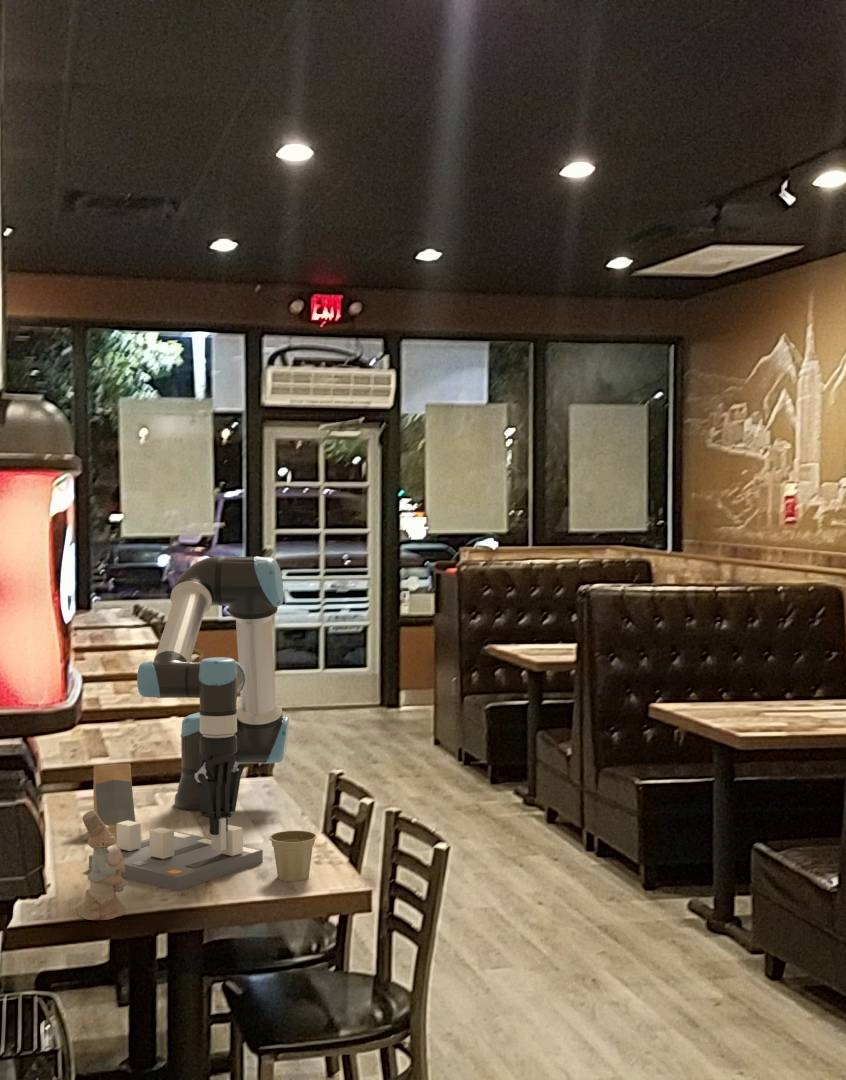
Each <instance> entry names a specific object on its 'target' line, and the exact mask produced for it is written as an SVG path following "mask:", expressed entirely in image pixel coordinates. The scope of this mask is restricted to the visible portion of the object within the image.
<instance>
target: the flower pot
mask: <svg viewBox="0 0 846 1080" xmlns="http://www.w3.org/2000/svg"><path fill="white" fill-rule="evenodd" d="M317 837H318V835H317V834H316V833H315V832H312V831H309V830H297V829H296V830H294V829H293V830H285V831H283V830H282V831H278V832H274V833H272V834H271V835H270V836H269V840H270V841H271V846H272V847H273V853H274V859H275V866H276V874H277V879H278V880H279V881H284V882H299V881H304V880H307V879H308V878H310V872H311V871H310V870H311V863H312V856H313V855H312V854H313V847H314V845H315V842H316V841H315V840H317Z"/></svg>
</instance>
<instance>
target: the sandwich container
mask: <svg viewBox="0 0 846 1080" xmlns="http://www.w3.org/2000/svg"><path fill="white" fill-rule="evenodd" d="M131 766H132V765H131V763H112V764H111V763H109V764H99V765H98V764H97V765H96V764H95V765H93V787H92V788H93V811H95V812H96V813H97V815H98V816H99V817H100V819H101V820H102V822H103V823H104V824H105V825H107V826H109V827H110V833H115V839H116V844H117V823H120V822H123V821H127V820H128V821H133V822H136V816H135V815H136V814H135V805H134V794H133V783H132V782H133V781H132V770H131V769H132V767H131Z"/></svg>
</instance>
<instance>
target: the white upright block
mask: <svg viewBox="0 0 846 1080" xmlns="http://www.w3.org/2000/svg"><path fill="white" fill-rule="evenodd" d="M243 829H244V828H243V827H242V826H235V825H231V824H228V830H227V832H226V850H223V851H219V853H221V854H226V855H230V856H235V855H238V854H241V853H243V846H244V839H243V838H244V837H243V835H244V833H243V832H244V830H243Z"/></svg>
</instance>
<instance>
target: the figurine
mask: <svg viewBox="0 0 846 1080" xmlns="http://www.w3.org/2000/svg"><path fill="white" fill-rule="evenodd" d="M82 822H83V824H84V827H85V829H86V830H87V833H88V836H89V838H88V840H87V844H88V846H89V847H90V849H93V852H92V855H93V858H92V862H91V866H92V870H91V871H90V872H89V873H88V874H87V880H88V881H89V884H90V886H89V889H86V890H85V897H84V903H83V904H82V906H80V909H79V910H78V911H77V915H78V916H79V917H80V918H83V919H85V920H87V921H88V920H91V921H105V920H111V919H115V918H117V917H122V916H123V915H125V914H126V908H125V906H124V904H123V903H122V902H121V901H120V900H119V899H118V895H117V892H118V893H121V892H124V887H127V886H128V885H129V882H128V881H127V879H124V878H122V877H121V873H123V872H125V865H124V861H125V860H124V858H123V856H122V853H121V850H120V848H118V849H116V850H113V851H108V850H109V849H108V848H109V847H111V846H114V845H117V843H116V839H115V833H110V827H109V826H107V825H105V824H104V823H103V822H102V820H101V819H100V817H99V816H98V815H97V813H96V812H95V811H94V810H88V811H87V812H86V813H84V814H83V817H82Z"/></svg>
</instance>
